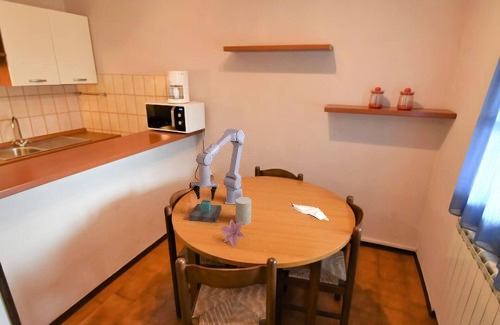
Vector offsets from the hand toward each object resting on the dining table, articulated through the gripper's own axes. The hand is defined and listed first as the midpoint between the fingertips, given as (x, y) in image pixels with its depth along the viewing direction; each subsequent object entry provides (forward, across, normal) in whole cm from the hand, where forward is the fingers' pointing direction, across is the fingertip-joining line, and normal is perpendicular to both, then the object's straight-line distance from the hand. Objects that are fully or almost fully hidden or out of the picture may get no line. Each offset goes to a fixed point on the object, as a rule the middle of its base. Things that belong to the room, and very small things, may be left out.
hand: (205, 199), depth 148 cm
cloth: (+10, +57, +13) cm, 59 cm away
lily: (+10, +19, -22) cm, 31 cm away
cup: (+10, +21, -4) cm, 23 cm away
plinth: (+9, 0, 0) cm, 9 cm away
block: (+6, 0, 0) cm, 6 cm away
